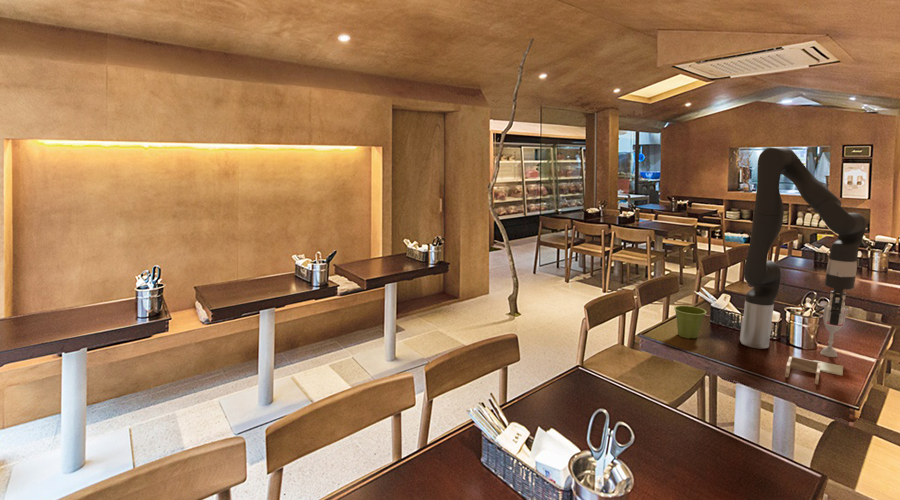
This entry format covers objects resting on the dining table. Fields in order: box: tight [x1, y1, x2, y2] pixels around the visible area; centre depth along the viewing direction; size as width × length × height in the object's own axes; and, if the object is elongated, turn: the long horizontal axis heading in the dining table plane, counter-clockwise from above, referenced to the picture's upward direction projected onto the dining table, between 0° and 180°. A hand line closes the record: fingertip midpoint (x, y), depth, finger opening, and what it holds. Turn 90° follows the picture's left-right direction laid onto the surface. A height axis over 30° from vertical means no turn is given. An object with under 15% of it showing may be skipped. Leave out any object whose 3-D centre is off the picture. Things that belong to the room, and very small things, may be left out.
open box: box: [784, 355, 822, 385], centre depth 155 cm, size 10×9×4 cm
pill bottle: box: [824, 300, 846, 328], centre depth 157 cm, size 5×5×8 cm
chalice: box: [819, 304, 850, 358], centre depth 170 cm, size 7×7×18 cm
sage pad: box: [813, 359, 844, 377], centre depth 160 cm, size 8×8×1 cm
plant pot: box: [673, 305, 707, 339], centre depth 191 cm, size 12×12×11 cm
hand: (833, 322), depth 157 cm, fingers closed on pill bottle, 4 cm apart
